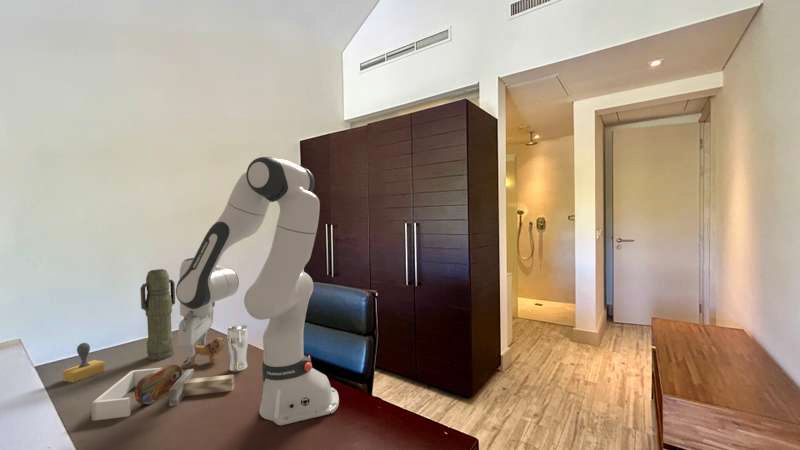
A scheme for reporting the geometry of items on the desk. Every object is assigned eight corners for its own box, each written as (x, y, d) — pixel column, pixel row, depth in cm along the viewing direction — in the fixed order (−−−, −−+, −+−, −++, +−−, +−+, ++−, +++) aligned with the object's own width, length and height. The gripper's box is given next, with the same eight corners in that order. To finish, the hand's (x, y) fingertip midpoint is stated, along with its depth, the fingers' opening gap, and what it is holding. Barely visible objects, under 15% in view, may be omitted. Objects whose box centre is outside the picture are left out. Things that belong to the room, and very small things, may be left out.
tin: (142, 410, 104) (140, 381, 103) (133, 409, 104) (131, 380, 104) (183, 385, 118) (182, 360, 118) (175, 384, 119) (174, 359, 119)
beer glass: (244, 362, 136) (243, 323, 135) (252, 367, 131) (250, 327, 130) (225, 368, 131) (224, 328, 130) (232, 374, 126) (230, 332, 125)
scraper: (238, 378, 122) (238, 364, 122) (227, 399, 109) (226, 383, 109) (187, 384, 119) (187, 369, 119) (169, 406, 105) (168, 389, 105)
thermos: (138, 360, 140) (134, 271, 139) (168, 349, 151) (165, 267, 150) (152, 363, 136) (148, 273, 135) (182, 352, 147) (178, 268, 146)
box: (162, 382, 121) (161, 367, 121) (128, 416, 100) (128, 399, 100) (132, 385, 119) (131, 370, 119) (92, 420, 98) (91, 403, 98)
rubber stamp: (73, 383, 121) (71, 348, 121) (62, 381, 123) (61, 347, 123) (105, 371, 131) (104, 338, 130) (95, 369, 133) (93, 337, 132)
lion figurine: (226, 357, 141) (225, 335, 141) (223, 363, 136) (222, 339, 135) (185, 362, 137) (184, 339, 137) (180, 367, 132) (179, 343, 132)
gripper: (195, 316, 103) (196, 363, 104) (216, 299, 123) (217, 338, 124) (171, 317, 102) (172, 365, 102) (196, 300, 122) (197, 339, 122)
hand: (196, 350), depth 113 cm, fingers open, 8 cm apart
